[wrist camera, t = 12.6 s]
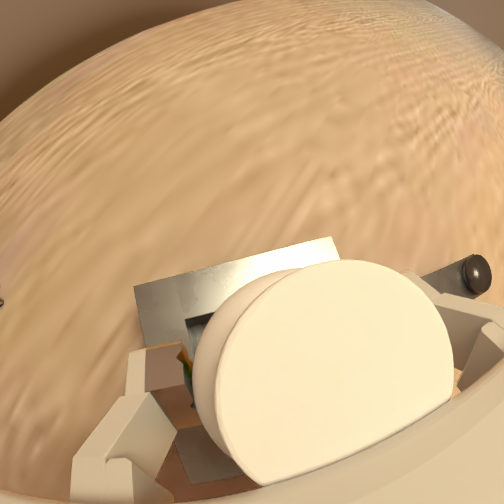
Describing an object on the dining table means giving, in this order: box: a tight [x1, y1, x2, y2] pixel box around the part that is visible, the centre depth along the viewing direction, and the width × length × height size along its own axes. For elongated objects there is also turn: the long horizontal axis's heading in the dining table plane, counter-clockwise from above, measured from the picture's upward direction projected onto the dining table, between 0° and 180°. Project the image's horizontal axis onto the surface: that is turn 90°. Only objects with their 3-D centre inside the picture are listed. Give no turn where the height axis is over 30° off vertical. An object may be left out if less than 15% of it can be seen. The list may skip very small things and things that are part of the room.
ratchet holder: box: [133, 236, 492, 485], centre depth 18 cm, size 27×12×4 cm, turn 106°
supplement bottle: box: [192, 259, 454, 487], centre depth 8 cm, size 5×5×10 cm
